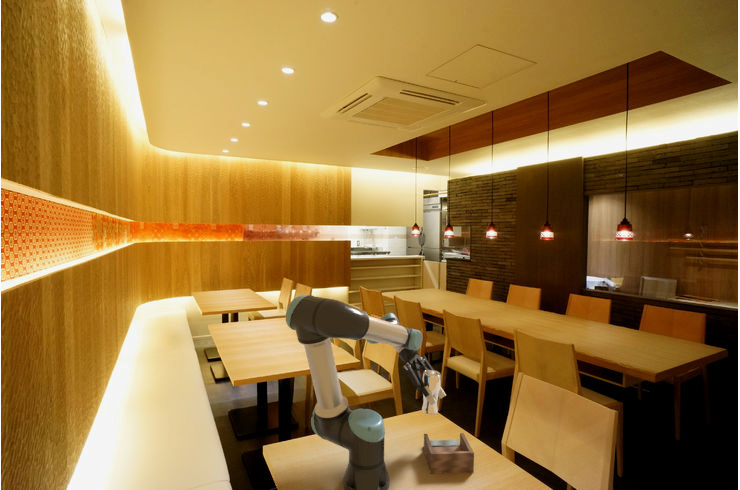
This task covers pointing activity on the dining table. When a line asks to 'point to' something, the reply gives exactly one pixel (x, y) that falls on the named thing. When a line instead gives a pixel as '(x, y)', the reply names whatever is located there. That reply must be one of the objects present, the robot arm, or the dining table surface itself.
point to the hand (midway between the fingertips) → (438, 400)
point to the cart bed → (449, 455)
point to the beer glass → (431, 390)
